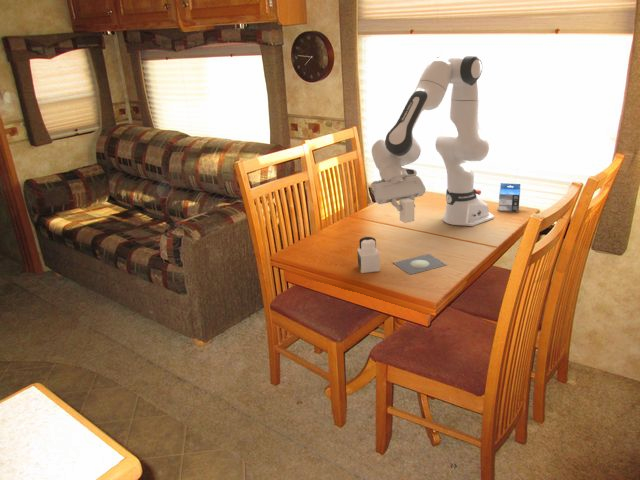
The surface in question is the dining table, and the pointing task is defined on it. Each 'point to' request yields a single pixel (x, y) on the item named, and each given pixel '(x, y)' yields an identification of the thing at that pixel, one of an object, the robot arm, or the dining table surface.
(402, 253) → the dining table surface
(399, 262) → the slate pad
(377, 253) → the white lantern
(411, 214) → the white block
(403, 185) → the robot arm
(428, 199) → the dining table surface
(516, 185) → the label tape cartridge
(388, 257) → the dining table surface
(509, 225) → the dining table surface
